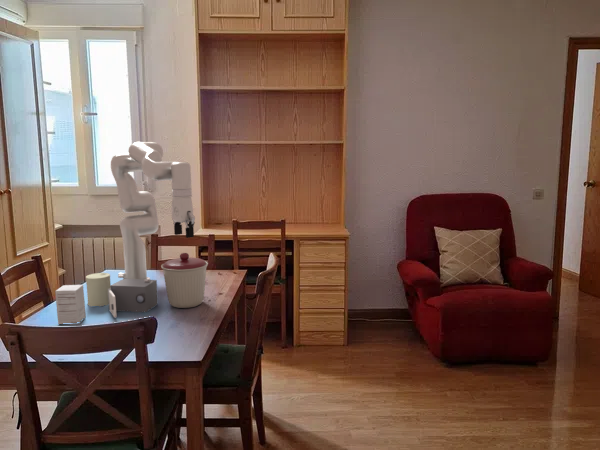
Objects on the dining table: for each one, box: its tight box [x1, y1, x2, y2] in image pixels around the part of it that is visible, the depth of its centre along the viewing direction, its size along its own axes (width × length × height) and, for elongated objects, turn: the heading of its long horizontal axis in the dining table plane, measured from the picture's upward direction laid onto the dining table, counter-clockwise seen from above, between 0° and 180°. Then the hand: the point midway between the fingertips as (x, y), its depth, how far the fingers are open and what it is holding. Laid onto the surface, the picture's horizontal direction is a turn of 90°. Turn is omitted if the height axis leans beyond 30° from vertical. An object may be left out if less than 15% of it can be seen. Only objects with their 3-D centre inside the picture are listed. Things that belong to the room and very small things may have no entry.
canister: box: [160, 252, 209, 309], centre depth 190 cm, size 18×18×21 cm
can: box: [85, 272, 112, 307], centre depth 193 cm, size 9×9×12 cm
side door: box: [108, 289, 118, 318], centre depth 179 cm, size 10×2×8 cm, turn 31°
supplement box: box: [54, 284, 87, 324], centre depth 173 cm, size 7×7×13 cm
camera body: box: [110, 278, 159, 313], centre depth 187 cm, size 14×11×11 cm
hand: (184, 235), depth 193 cm, fingers open, 9 cm apart
